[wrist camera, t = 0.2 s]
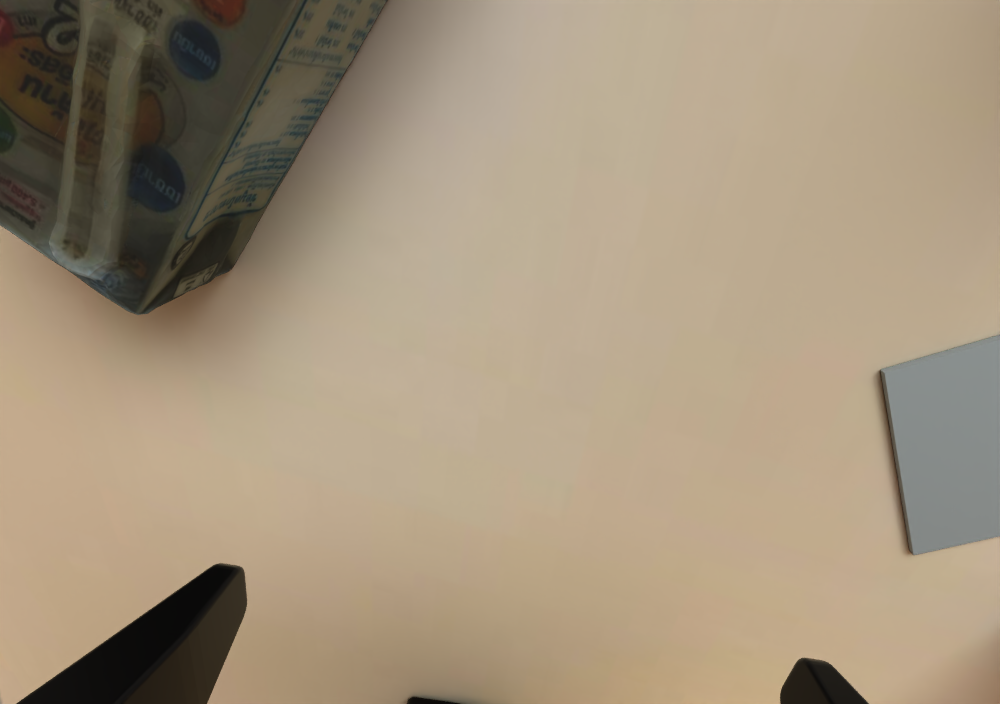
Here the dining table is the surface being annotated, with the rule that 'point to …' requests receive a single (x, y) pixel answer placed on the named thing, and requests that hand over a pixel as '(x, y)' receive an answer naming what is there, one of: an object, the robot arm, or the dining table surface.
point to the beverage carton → (159, 128)
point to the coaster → (947, 444)
